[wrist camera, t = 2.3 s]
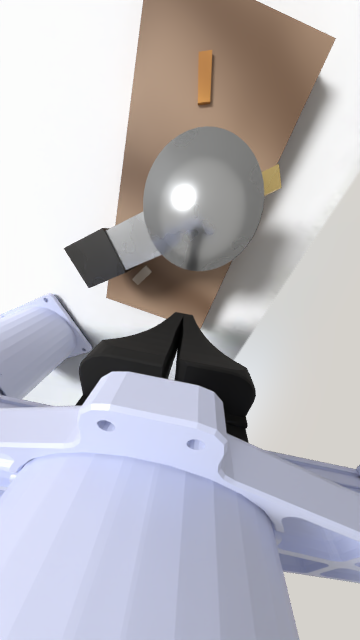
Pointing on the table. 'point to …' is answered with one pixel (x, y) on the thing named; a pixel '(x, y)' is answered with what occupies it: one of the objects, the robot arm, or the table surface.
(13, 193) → the table surface
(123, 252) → the silver saucepan
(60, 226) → the table surface
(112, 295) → the mounting board
